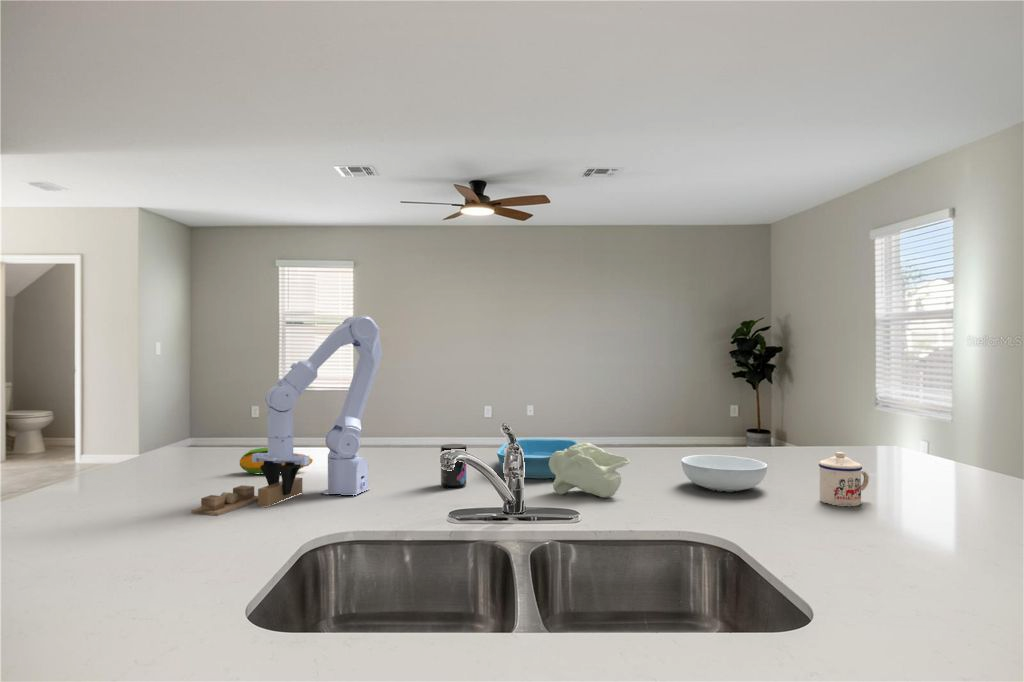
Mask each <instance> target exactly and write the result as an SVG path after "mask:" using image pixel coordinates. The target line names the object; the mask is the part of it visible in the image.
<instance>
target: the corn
mask: <svg viewBox="0 0 1024 682" xmlns="http://www.w3.org/2000/svg"><path fill="white" fill-rule="evenodd" d="M255 453H268V447H260V448H254V449H251V450H249V451H248V452H246V453H244V454H243V455H242V457H241V458H240V459H239V466H240V468H241V469H242V470H244V471H246V472H248V473H249V474H253V473H260V474H259V475H262V474H261V473H263V472H262V470H261V469H260V466H261V465H263V464H264V462H252V454H255ZM293 454H299V455H304V456H307V455H306V454H302V453H296V452H293ZM313 461H314V459H312V458H311V457H310V464H308V465H305V466H304V465H301V467H300V469H299V470H301V469H303V468H305V467H308V466H309V465H311V464H312V463H313ZM282 465H285V464H284V463H282Z"/></svg>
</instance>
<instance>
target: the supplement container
mask: <svg viewBox="0 0 1024 682" xmlns="http://www.w3.org/2000/svg"><path fill="white" fill-rule="evenodd" d="M467 448H468V447H467V444H462V443H449V444H442V445H440V453H441V452H442V451H444V450H451V449H465V451H467ZM440 485H441V487H442V488H444V489H449V488H451V489H452V488H457V489H462V488H465V486H466V485H467V463H466V464H465V463H463V462H459V461H457V462H456V463H455V467H454V470H452V471H447V470H443V469H442V468H441V467H440ZM451 489H450V490H451Z"/></svg>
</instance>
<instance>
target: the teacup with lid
mask: <svg viewBox="0 0 1024 682" xmlns="http://www.w3.org/2000/svg"><path fill="white" fill-rule="evenodd" d="M818 466H819V500H820V502H822V503H824V504H826V503H828V504H827V505H830V504H832V505H831V506H835V505H837V506H836V507H844V506H848V508H851V506H853V507H857V506H860V505H861V504H862V491H864V490H865V489H867V487H868V485H869V481H870V477H869V476H870V475H869V473H868V472H867V471H865V470H863V467H862V464H861V463H859V462H857V461H854V460H852V459H851V458H849V457H847V456H846V453H845V452H843V451H837V452H835V455H833V456H831V457H828V458H827V459H822V460H820V461H819V462H818ZM862 476H863V482H862Z"/></svg>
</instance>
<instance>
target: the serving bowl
mask: <svg viewBox="0 0 1024 682" xmlns="http://www.w3.org/2000/svg"><path fill="white" fill-rule="evenodd" d="M680 461H681V467H682V470H683V473H684V475H685V476H686V478H687V479H688V480H689V481H690V482H692V483H694V484H696V485H698V486H699V487H703V488H706V489H707V488H708V490H710V489H711V490H710V491H715V490H717V491H716V492H722V491H726V493H733V492H734V491H736V492H741V491H743V490H750V489H752V488H755V487H757V486H758V485H760V484H761V483H762V482H763V481H764V479H765V477H766V475H767V469H768V464H767V463H765V462H763V461H760V460H758V459H753V458H749V457H748V458H747V457H742V456H735V455H733V456H732V455H723V454H698V455H697V454H695V455H688V456H684V457H682V458H681V460H680Z"/></svg>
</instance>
